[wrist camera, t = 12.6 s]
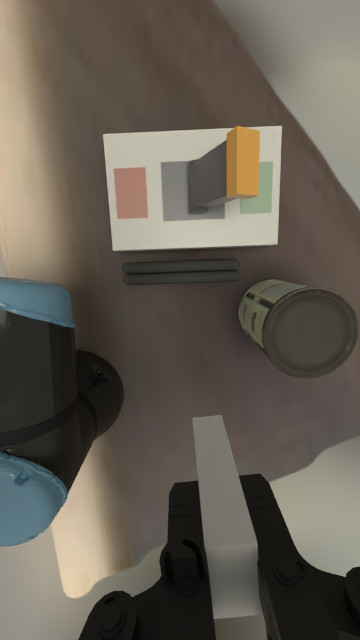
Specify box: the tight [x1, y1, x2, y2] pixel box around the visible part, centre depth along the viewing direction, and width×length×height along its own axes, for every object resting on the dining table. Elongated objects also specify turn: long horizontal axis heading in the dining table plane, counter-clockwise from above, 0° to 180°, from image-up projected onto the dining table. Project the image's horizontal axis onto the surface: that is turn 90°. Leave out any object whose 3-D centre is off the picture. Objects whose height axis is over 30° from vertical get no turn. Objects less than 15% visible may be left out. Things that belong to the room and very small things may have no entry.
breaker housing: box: [103, 126, 282, 252], centre depth 38 cm, size 22×14×5 cm, turn 92°
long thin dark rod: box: [123, 259, 239, 285], centre depth 42 cm, size 18×3×2 cm, turn 92°
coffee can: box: [239, 279, 359, 378], centre depth 37 cm, size 10×10×14 cm
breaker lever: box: [188, 126, 260, 214], centre depth 30 cm, size 3×6×11 cm, turn 2°
